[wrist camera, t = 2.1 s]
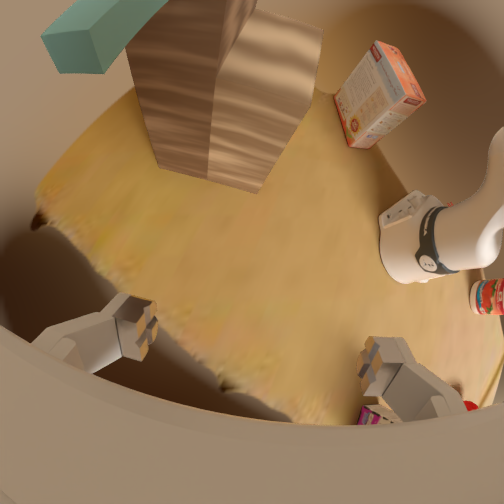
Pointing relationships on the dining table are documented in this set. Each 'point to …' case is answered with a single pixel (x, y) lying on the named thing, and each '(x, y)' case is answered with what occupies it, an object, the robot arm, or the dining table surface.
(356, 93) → the cracker box
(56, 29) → the teal bar
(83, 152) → the dining table surface
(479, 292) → the fruit juice
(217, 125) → the step stand
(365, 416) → the candy bar box
